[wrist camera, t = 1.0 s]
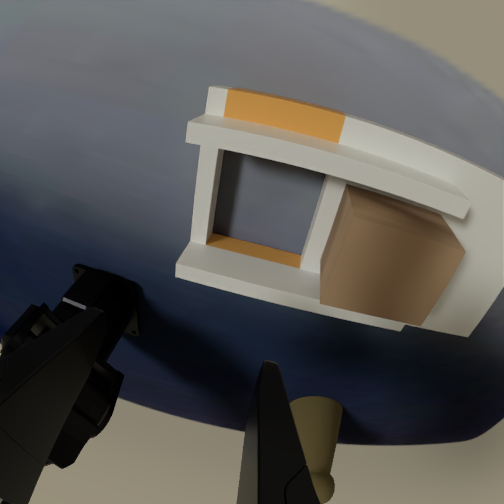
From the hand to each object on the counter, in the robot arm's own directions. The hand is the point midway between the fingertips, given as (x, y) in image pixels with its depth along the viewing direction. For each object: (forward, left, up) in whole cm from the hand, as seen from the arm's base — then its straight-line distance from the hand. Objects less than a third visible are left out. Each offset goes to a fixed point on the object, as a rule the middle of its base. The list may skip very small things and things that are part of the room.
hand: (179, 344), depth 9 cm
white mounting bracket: (0, -8, -12) cm, 14 cm away
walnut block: (0, -8, -10) cm, 13 cm away
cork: (-22, -11, -12) cm, 27 cm away
